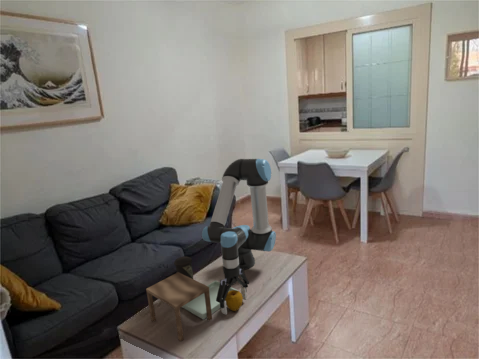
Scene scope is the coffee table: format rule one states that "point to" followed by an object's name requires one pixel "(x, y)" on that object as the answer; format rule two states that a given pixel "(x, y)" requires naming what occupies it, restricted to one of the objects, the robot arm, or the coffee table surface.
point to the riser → (178, 296)
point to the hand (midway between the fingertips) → (234, 305)
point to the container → (184, 266)
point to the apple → (234, 300)
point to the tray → (198, 304)
